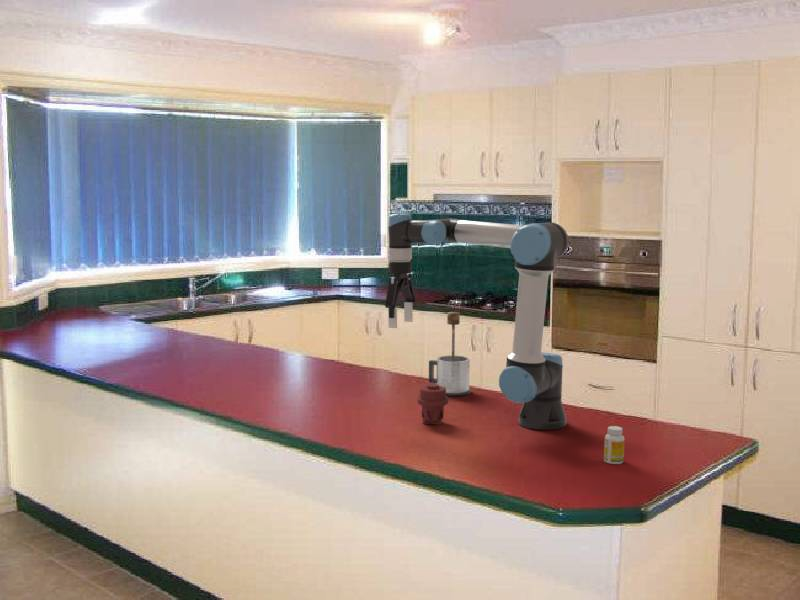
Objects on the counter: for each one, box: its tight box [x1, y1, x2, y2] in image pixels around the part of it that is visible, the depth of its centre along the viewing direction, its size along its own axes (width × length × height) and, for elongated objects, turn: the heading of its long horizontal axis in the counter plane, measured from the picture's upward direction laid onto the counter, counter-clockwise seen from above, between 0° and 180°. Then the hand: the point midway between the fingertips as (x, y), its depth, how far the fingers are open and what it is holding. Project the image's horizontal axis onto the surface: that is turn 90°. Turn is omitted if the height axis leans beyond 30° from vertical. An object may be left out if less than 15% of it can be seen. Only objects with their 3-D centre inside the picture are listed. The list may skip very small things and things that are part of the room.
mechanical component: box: [416, 383, 450, 425], centre depth 286 cm, size 12×10×10 cm
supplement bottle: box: [603, 425, 626, 465], centre depth 248 cm, size 5×5×10 cm
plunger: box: [446, 311, 461, 362], centre depth 324 cm, size 8×8×21 cm
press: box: [428, 355, 472, 398], centre depth 326 cm, size 16×13×12 cm
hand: (400, 324), depth 296 cm, fingers open, 13 cm apart
